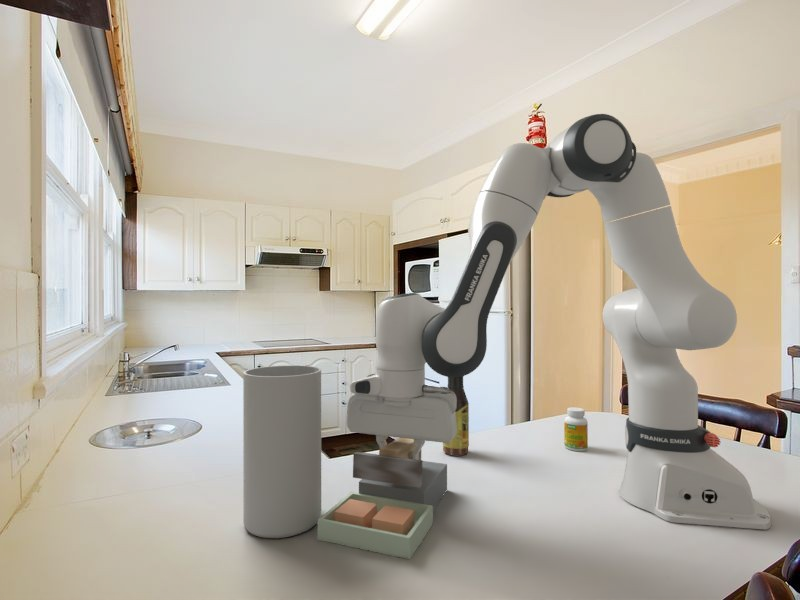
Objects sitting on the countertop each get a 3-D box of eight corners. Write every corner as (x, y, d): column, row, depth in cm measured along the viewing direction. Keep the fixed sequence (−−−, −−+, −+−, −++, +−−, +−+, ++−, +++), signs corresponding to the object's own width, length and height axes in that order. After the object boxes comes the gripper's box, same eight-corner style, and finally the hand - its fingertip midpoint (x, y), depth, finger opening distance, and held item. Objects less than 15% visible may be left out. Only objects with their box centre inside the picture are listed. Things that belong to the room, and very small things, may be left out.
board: (447, 489, 88) (447, 464, 88) (424, 522, 75) (424, 492, 75) (389, 481, 93) (389, 456, 93) (358, 510, 80) (358, 481, 80)
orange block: (363, 517, 70) (363, 536, 70) (377, 503, 74) (377, 522, 74) (334, 511, 72) (334, 530, 72) (350, 498, 76) (350, 516, 76)
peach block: (402, 524, 67) (402, 545, 67) (414, 510, 72) (414, 529, 72) (372, 518, 69) (372, 538, 69) (385, 505, 74) (385, 523, 74)
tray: (432, 524, 75) (432, 505, 75) (409, 559, 64) (409, 538, 64) (351, 509, 80) (351, 491, 80) (317, 539, 70) (317, 519, 70)
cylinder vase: (240, 512, 79) (240, 367, 79) (312, 499, 84) (312, 363, 84) (247, 547, 68) (246, 379, 68) (329, 530, 73) (329, 373, 73)
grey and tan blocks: (442, 466, 85) (443, 439, 86) (419, 487, 73) (420, 455, 73) (383, 458, 90) (384, 432, 90) (352, 477, 78) (353, 447, 78)
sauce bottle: (468, 458, 106) (467, 372, 106) (441, 456, 108) (441, 371, 108) (469, 449, 113) (469, 368, 113) (444, 447, 114) (444, 368, 114)
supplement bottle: (563, 450, 112) (563, 410, 112) (564, 443, 117) (564, 405, 117) (587, 452, 110) (587, 412, 110) (587, 446, 115) (587, 407, 115)
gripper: (461, 384, 81) (461, 462, 81) (357, 377, 88) (357, 449, 88) (451, 391, 75) (452, 475, 75) (342, 383, 83) (342, 459, 82)
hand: (400, 461), depth 82 cm, fingers closed on grey and tan blocks, 3 cm apart
